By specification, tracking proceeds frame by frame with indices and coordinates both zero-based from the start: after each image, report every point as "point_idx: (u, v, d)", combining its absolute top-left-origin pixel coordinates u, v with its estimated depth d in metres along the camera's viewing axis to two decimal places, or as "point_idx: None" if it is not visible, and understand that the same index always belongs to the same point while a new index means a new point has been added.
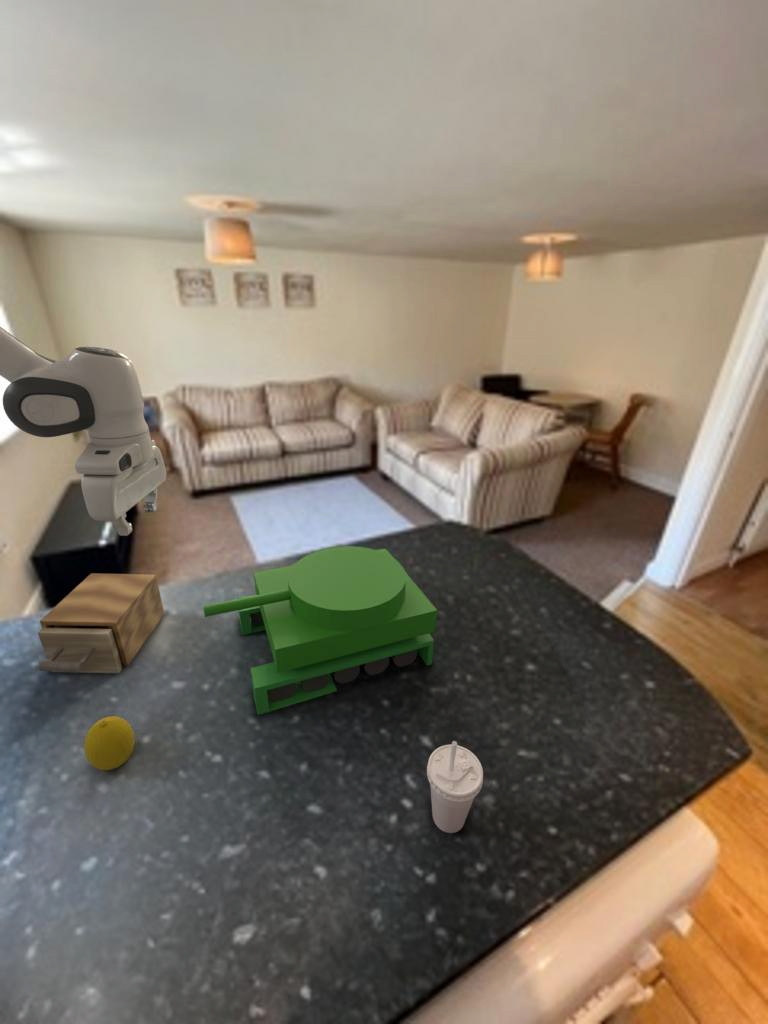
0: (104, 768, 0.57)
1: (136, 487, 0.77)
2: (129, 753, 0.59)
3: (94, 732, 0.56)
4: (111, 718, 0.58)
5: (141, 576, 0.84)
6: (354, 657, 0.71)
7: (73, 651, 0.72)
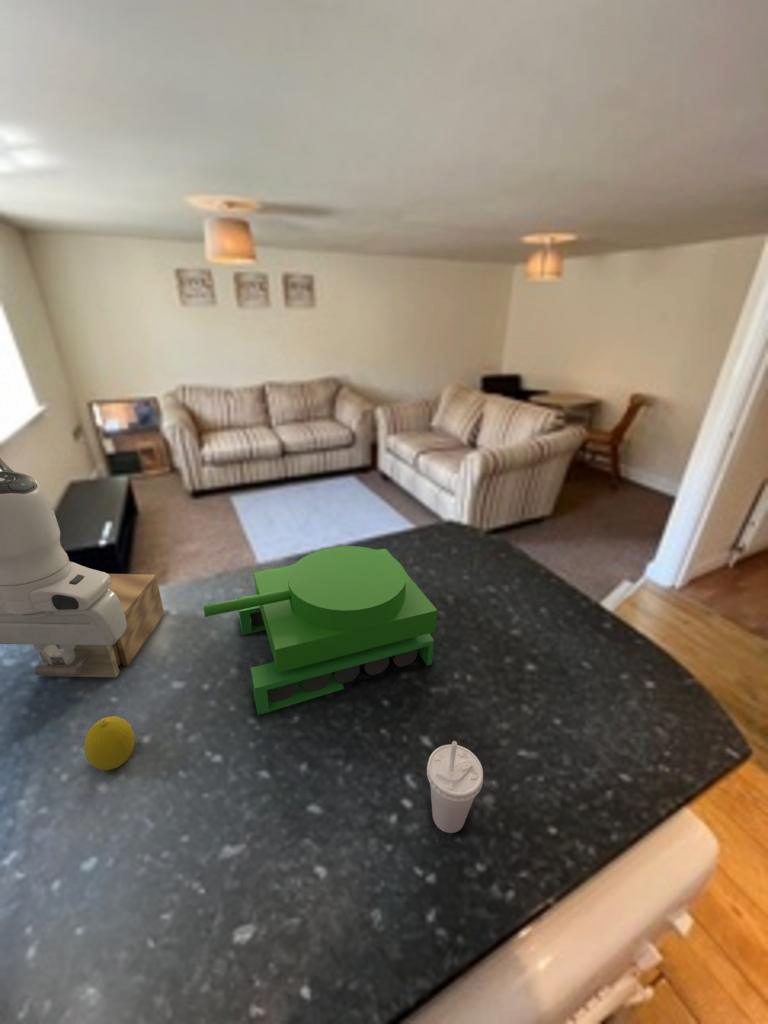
0: (104, 768, 0.57)
1: None
2: (129, 753, 0.59)
3: (94, 732, 0.56)
4: (111, 718, 0.58)
5: (141, 576, 0.84)
6: (354, 656, 0.71)
7: None
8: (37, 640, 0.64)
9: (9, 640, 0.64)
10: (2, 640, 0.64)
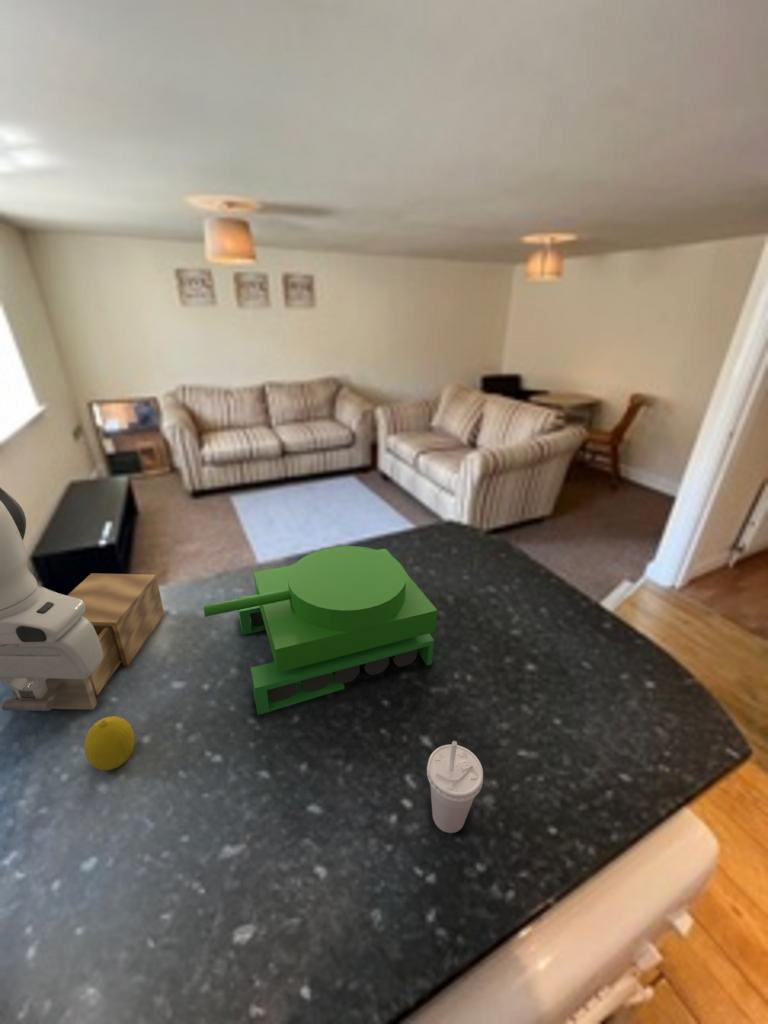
0: (104, 768, 0.57)
1: None
2: (129, 753, 0.59)
3: (94, 732, 0.56)
4: (111, 718, 0.58)
5: (141, 576, 0.84)
6: (354, 656, 0.71)
7: None
8: (3, 673, 0.58)
9: None
10: None
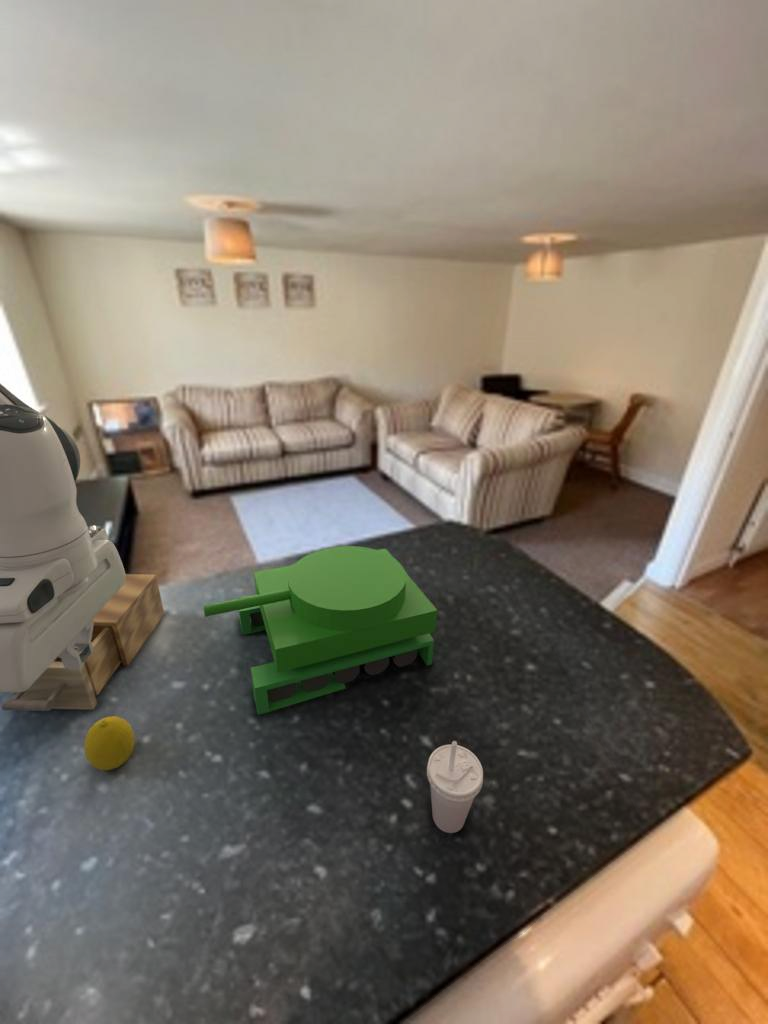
0: (104, 768, 0.57)
1: (70, 618, 0.49)
2: (129, 753, 0.59)
3: (94, 732, 0.56)
4: (111, 718, 0.58)
5: (141, 576, 0.84)
6: (354, 656, 0.71)
7: (42, 686, 0.65)
8: None
9: None
10: None
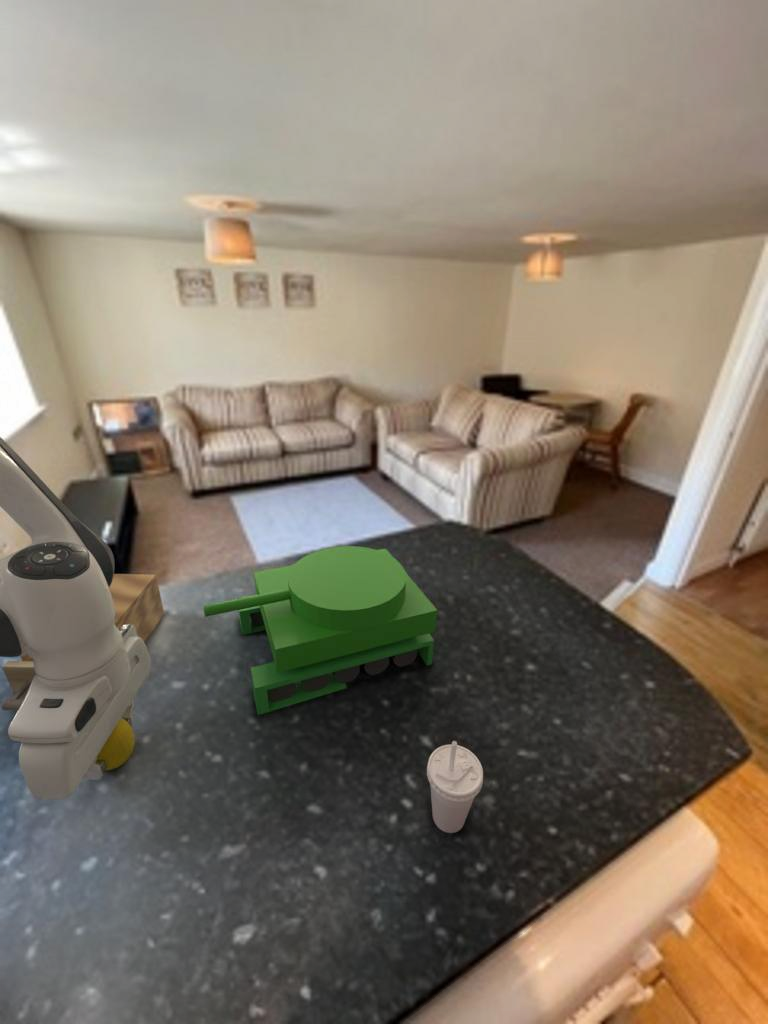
0: None
1: (106, 720, 0.55)
2: (129, 753, 0.59)
3: None
4: None
5: (141, 576, 0.84)
6: (354, 656, 0.71)
7: None
8: None
9: None
10: None
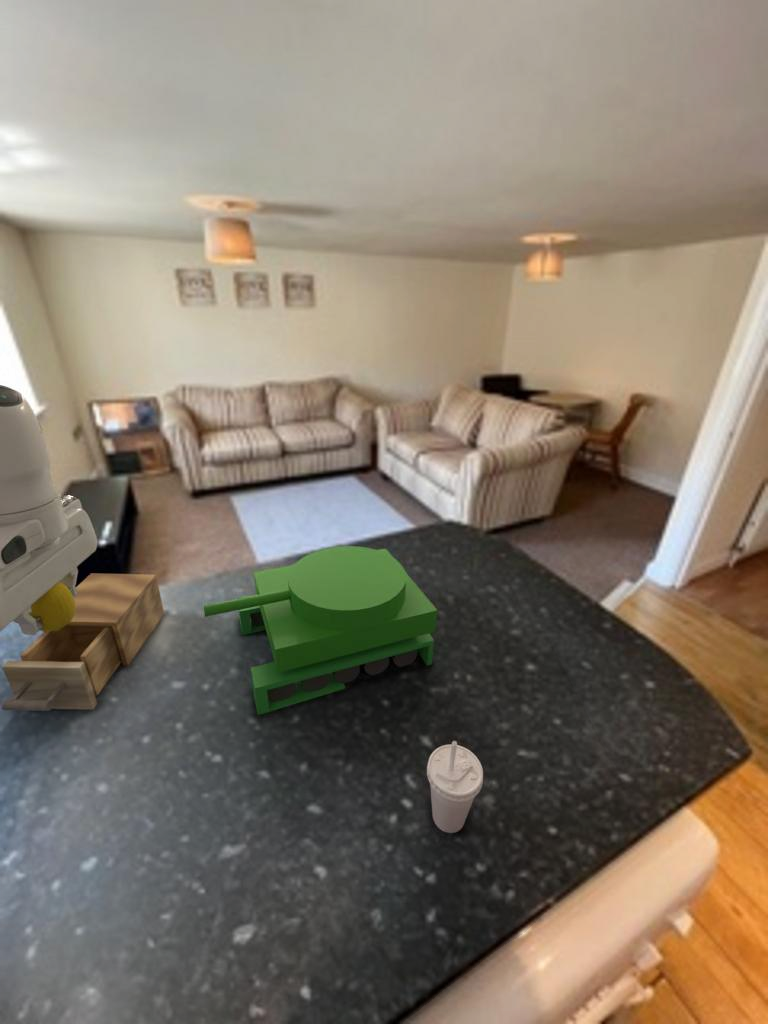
0: None
1: (42, 574, 0.56)
2: (68, 616, 0.60)
3: None
4: None
5: (141, 576, 0.84)
6: (354, 656, 0.71)
7: (42, 686, 0.65)
8: None
9: None
10: None
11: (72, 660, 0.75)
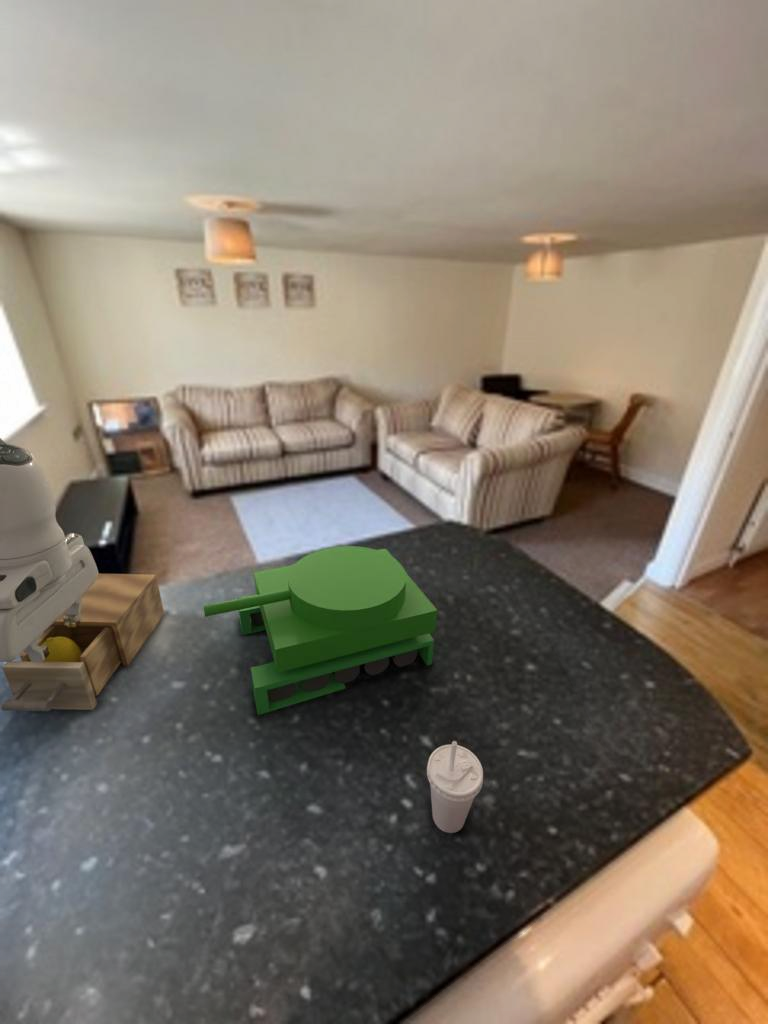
0: None
1: (50, 606, 0.63)
2: None
3: None
4: None
5: (141, 576, 0.84)
6: (354, 656, 0.71)
7: (42, 686, 0.65)
8: None
9: None
10: None
11: None
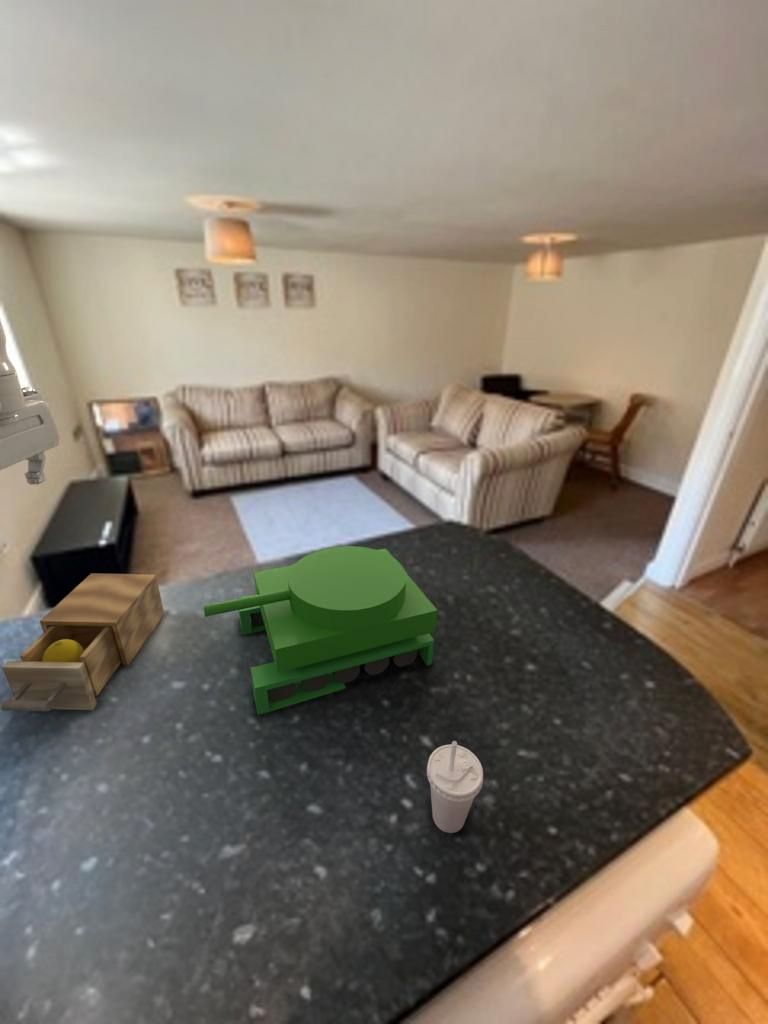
0: None
1: (1, 448, 0.60)
2: None
3: (50, 649, 0.67)
4: (66, 639, 0.69)
5: (141, 576, 0.84)
6: (354, 656, 0.71)
7: (41, 687, 0.65)
8: None
9: None
10: None
11: None
